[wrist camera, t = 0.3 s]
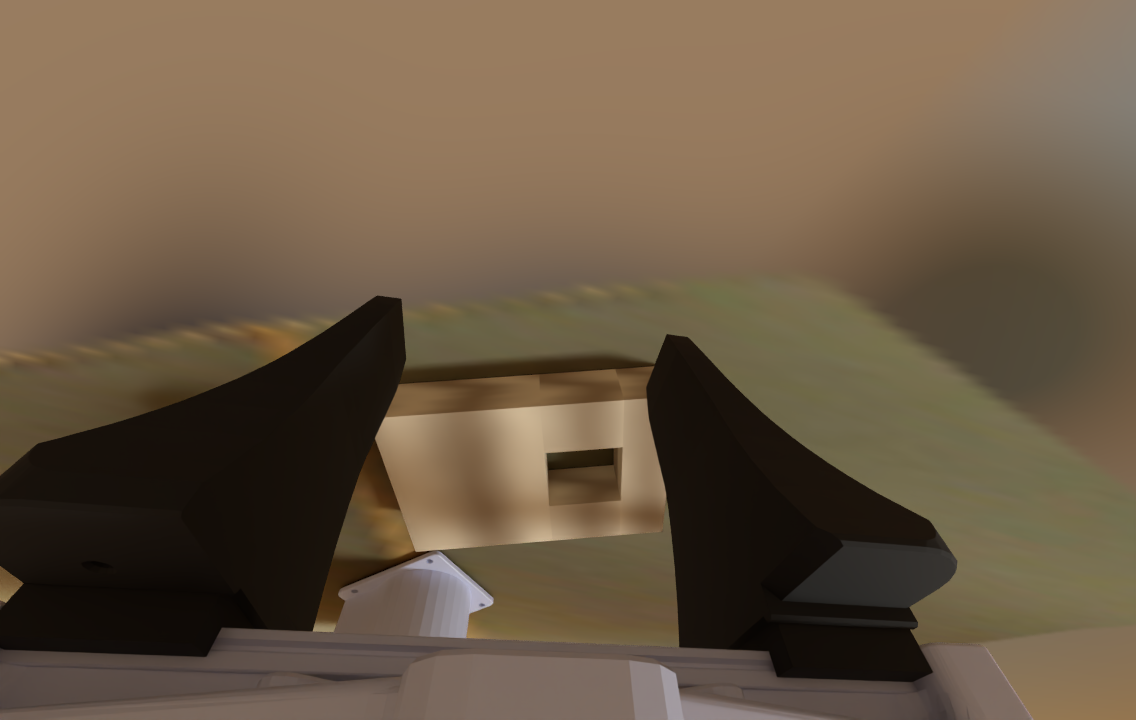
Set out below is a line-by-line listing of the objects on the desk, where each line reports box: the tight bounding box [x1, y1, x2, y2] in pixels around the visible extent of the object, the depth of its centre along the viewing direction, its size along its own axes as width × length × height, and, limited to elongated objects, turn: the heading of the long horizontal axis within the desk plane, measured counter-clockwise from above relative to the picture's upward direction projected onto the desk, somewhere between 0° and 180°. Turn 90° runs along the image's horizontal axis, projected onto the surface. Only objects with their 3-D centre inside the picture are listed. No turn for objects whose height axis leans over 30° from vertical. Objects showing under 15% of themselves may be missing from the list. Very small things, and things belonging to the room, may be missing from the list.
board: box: [375, 366, 666, 552], centre depth 27 cm, size 16×11×3 cm
